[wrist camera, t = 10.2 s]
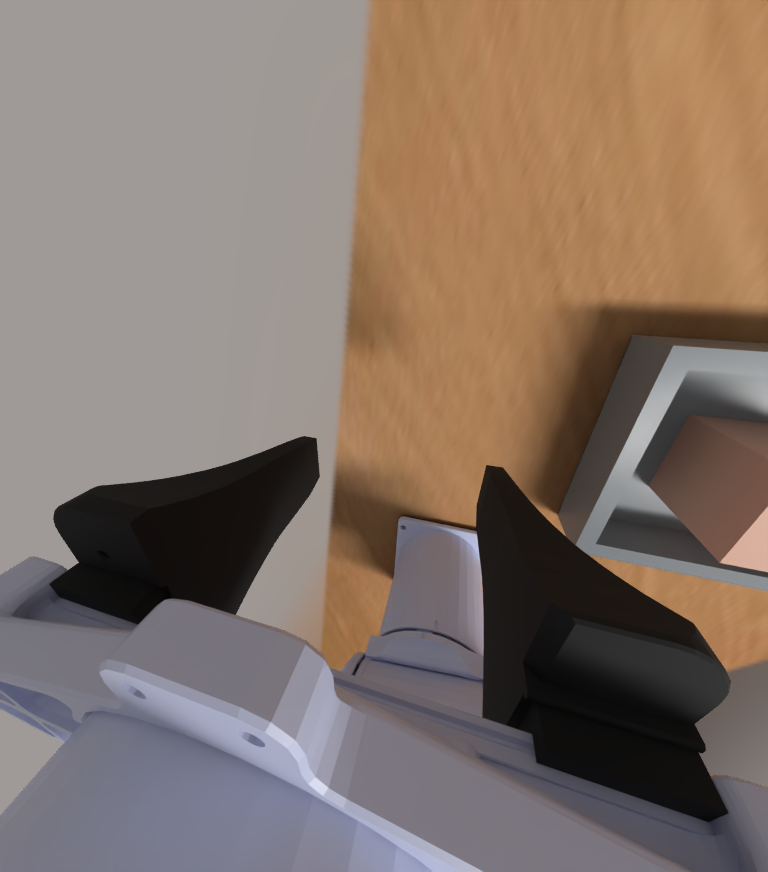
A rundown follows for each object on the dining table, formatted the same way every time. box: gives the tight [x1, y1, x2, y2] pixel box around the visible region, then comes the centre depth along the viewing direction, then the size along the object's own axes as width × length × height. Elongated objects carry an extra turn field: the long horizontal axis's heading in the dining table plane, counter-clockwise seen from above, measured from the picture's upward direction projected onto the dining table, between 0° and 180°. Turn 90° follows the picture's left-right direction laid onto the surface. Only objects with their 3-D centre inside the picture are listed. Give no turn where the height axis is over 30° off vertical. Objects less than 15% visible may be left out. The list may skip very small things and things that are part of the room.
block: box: [649, 415, 768, 572], centre depth 14 cm, size 5×5×6 cm
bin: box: [558, 335, 768, 591], centre depth 16 cm, size 13×13×4 cm
